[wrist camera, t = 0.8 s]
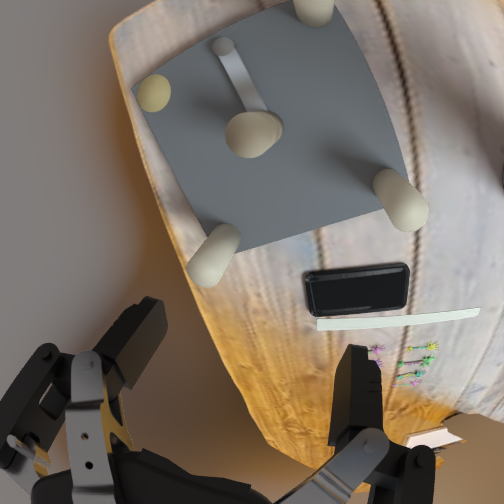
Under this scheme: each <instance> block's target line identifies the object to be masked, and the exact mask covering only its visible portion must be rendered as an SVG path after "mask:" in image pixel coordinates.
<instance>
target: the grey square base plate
mask: <svg viewBox="0 0 504 504" xmlns="http://www.w3.org/2000/svg"><path fill="white" fill-rule="evenodd" d="M334 1H335V0H290V1H287V2H284V3H282V4H279V5H276V6H273V7H271V8H268V9H266V10H263V11H261V12H258V13H256V14H254V15H251V16H249V17H247V18H245V19H243V20H240V21H238V22H236V23H234V24H232V25H230V26H228V27H226V28H224V29H222V30H220V31H218V32H216V33H214V34H213V35H211V36H209V37H207V38H205V39H204V40H202V41H200V42H198V43H197V44H195V45H193V46H192V47H190V48H188V49H187V50H185V51H183V52H182V53H180V54H179V55H177V56H176V57H174V58H173V59H171V60H170V61H168V62H167V63H165V64H164V65H162V66H161V67H159V68H158V69H157V70H155V71H154V72H152V73H151V74H150V75H148V76H147V77H146V78H144V79H143V80H142V81H140V82H139V83H138V84H137V85H135V86H134V87H133V88H132V91H133V94H134V96H135V98H136V100H137V102H138V104H139V106H140V108H141V110H142V112H143V114H144V116H145V118H146V120H147V122H148V124H149V126H150V128H151V130H152V132H153V134H154V136H155V138H156V140H157V142H158V144H159V146H160V148H161V150H162V152H163V154H164V156H165V158H166V160H167V162H168V164H169V166H170V168H171V170H172V172H173V174H174V175H175V177H176V179H177V181H178V183H179V185H180V187H181V189H182V191H183V193H184V195H185V196H186V198H187V200H188V202H189V204H190V206H191V208H192V209H193V211H194V213H195V215H196V217H197V219H198V221H199V222H200V224H201V226H202V228H203V230H204V232H205V233H206V235H207V237H208V238H207V239H206V240H205V241H204V243H203V244H202V245H201V247H200V248H199V249H198V250H197V252H196V253H195V254H194V256H193V257H192V258H191V260H190V261H189V262H188V264H187V273H188V275H189V277H190V279H191V280H192V281H193V282H195V283H196V284H198V285H200V286H202V287H213V286H215V285H216V284H217V283H218V282H219V280H220V278H221V277H222V275H223V273H224V271H225V269H226V267H227V266H228V264H229V262H230V260H231V258H232V257H233V255H234V254H235V253H238V252H242V251H245V250H248V249H251V248H255V247H258V246H261V245H264V244H268V243H271V242H274V241H278V240H281V239H284V238H287V237H291V236H294V235H297V234H301V233H304V232H307V231H310V230H314V229H317V228H320V227H324V226H327V225H330V224H334V223H337V222H340V221H343V220H347V219H350V218H353V217H357V216H360V215H363V214H367V213H370V212H373V211H377V210H380V209H383V208H384V209H385V211H386V213H387V214H388V216H389V218H390V220H391V222H392V223H393V225H394V226H395V227H396V228H397V229H398V230H400V231H403V232H413V231H416V230H418V229H419V228H421V227H422V226H423V225H424V223H425V222H426V220H427V218H428V214H429V207H428V203H427V201H426V199H425V198H424V197H423V196H422V195H421V194H420V193H419V192H418V191H417V190H416V189H415V188H414V187H413V186H412V185H411V184H410V183H409V179H408V175H407V171H406V168H405V164H404V160H403V157H402V153H401V150H400V147H399V143H398V140H397V137H396V134H395V131H394V128H393V125H392V122H391V119H390V116H389V114H388V111H387V108H386V106H385V103H384V100H383V98H382V95H381V93H380V91H379V88H378V86H377V83H376V81H375V79H374V77H373V74H372V72H371V70H370V68H369V66H368V64H367V62H366V59H365V57H364V55H363V53H362V51H361V49H360V48H359V46H358V44H357V42H356V40H355V38H354V36H353V34H352V33H351V31H350V29H349V27H348V26H347V24H346V22H345V21H344V19H343V17H342V16H341V14H340V12H339V11H338V9H337V8H336V6H335V4H334ZM221 37H227V38H229V39H231V40H232V41H233V42H234V43H235V45H236V50H237V52H238V54H239V55H240V57H241V59H242V61H243V63H244V65H245V67H246V68H247V70H248V72H249V74H250V76H251V78H252V80H253V82H254V84H255V86H256V88H257V90H258V92H259V94H260V96H261V98H262V100H263V102H264V104H265V106H266V108H267V110H268V111H271V112H274V113H276V114H277V115H278V116H279V117H280V118H281V119H282V121H283V124H284V132H283V135H282V137H281V138H280V139H279V140H278V141H277V142H276V143H275V144H273V145H272V146H271V147H270V148H269V149H268V150H267V151H265V152H264V153H263V154H262V155H260V156H258V157H254V158H244V157H240V156H238V155H236V154H235V153H234V152H232V151H231V150H230V148H229V147H228V145H227V143H226V139H225V130H226V127H227V125H228V123H229V121H230V120H231V119H232V118H233V117H235V116H236V115H238V114H241V113H245V112H247V110H246V108H245V106H244V104H243V102H242V100H241V98H240V96H239V94H238V92H237V90H236V88H235V86H234V84H233V83H232V81H231V79H230V77H229V75H228V73H227V71H226V69H225V67H224V65H223V64H222V62H221V60H220V58H219V56H218V55H216V54H215V53H214V52H213V50H212V45H213V43H214V41H215V40H217V39H218V38H221Z"/></svg>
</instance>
